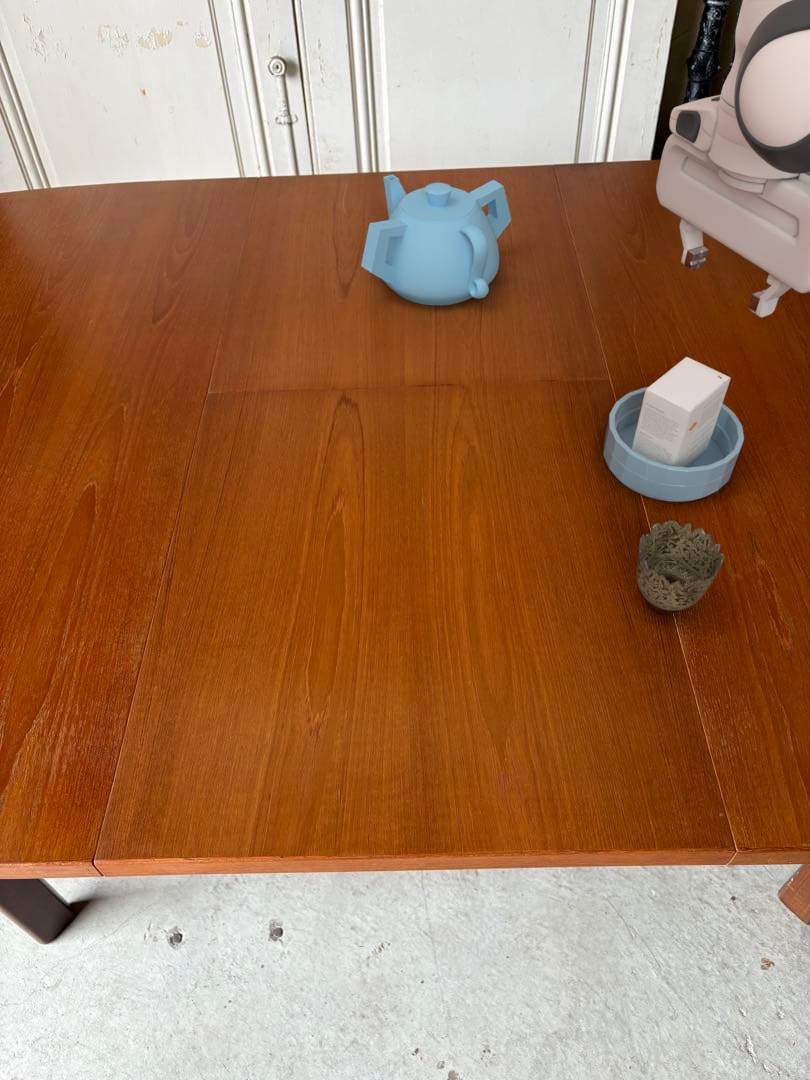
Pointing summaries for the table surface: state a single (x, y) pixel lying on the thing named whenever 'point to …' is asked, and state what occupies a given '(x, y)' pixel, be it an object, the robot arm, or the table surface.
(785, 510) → the table surface
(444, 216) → the teapot
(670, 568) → the cup
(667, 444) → the small box
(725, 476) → the bowl
